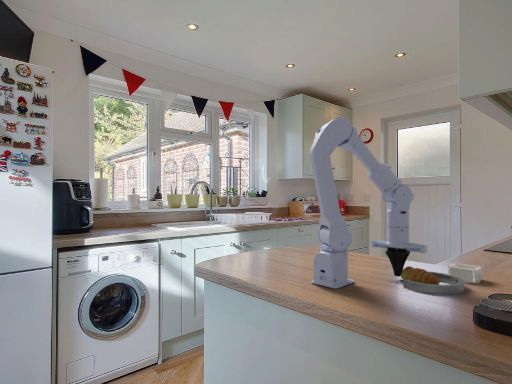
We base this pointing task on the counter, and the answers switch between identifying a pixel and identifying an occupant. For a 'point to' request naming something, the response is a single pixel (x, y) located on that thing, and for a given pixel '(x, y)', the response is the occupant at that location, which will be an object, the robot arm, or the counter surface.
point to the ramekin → (466, 272)
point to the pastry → (419, 276)
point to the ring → (454, 288)
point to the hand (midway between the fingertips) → (398, 275)
